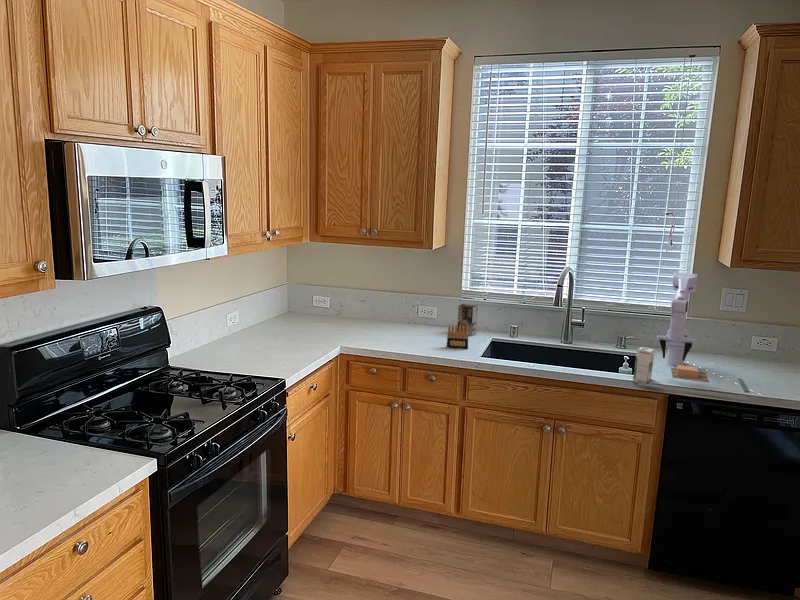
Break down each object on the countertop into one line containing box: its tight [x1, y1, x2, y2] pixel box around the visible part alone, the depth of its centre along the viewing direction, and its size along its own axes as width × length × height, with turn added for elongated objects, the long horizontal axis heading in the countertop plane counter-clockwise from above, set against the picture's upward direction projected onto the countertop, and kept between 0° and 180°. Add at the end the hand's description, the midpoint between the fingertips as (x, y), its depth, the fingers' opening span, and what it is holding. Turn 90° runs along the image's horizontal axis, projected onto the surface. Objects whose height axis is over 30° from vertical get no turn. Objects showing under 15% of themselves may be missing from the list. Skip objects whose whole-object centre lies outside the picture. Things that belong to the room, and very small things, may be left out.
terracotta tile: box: [676, 365, 700, 378], centre depth 253 cm, size 7×8×3 cm
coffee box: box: [457, 303, 478, 337], centre depth 319 cm, size 9×6×16 cm
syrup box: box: [632, 346, 656, 386], centre depth 244 cm, size 6×6×14 cm
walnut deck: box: [670, 367, 710, 384], centre depth 253 cm, size 16×14×2 cm
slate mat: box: [737, 377, 750, 393], centre depth 248 cm, size 18×14×1 cm
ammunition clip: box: [446, 324, 469, 350], centre depth 290 cm, size 11×2×12 cm, turn 82°
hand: (673, 358), depth 247 cm, fingers open, 7 cm apart
